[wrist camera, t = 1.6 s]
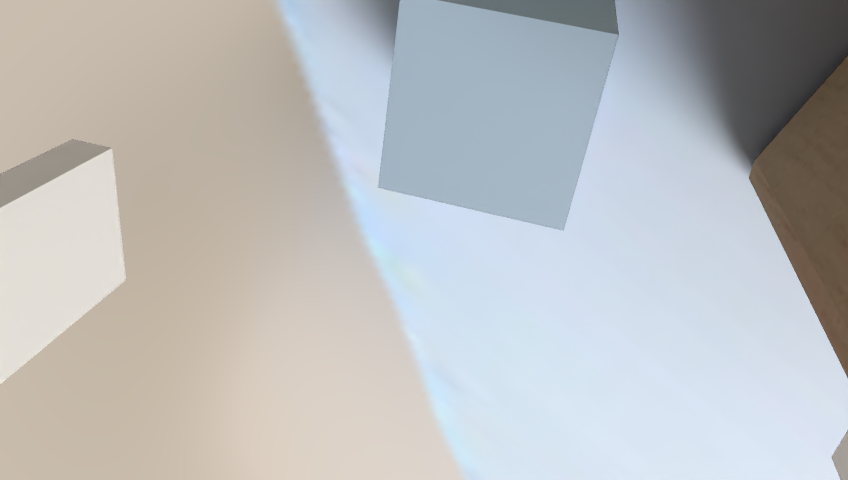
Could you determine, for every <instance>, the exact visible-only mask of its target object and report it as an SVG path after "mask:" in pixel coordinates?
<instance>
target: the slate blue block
mask: <svg viewBox="0 0 848 480" xmlns="http://www.w3.org/2000/svg"><path fill="white" fill-rule="evenodd" d="M618 35H619V33H618V25H617V16H616V7H615V0H400V2H399V11H398V19H397V28H396V37H395V45H394V54H393V63H392V71H391V80H390V89H389V97H388V106H387V115H386V123H385V132H384V141H383V149H382V158H381V167H380V175H379V184H378V188H382V189H386V190H390V191H395V192H399V193H403V194H408V195H412V196H416V197H421V198H425V199H429V200H434V201H438V202H442V203H446V204H451V205H455V206H459V207H464V208H468V209H472V210H477V211H481V212H485V213H490V214H494V215H498V216H503V217H507V218H511V219H516V220H520V221H524V222H529V223H533V224H537V225H542V226H546V227H550V228H555V229H559V230H563V231H564V227H565V224H566V220H567V217H568V213H569V210H570V206H571V202H572V199H573V195H574V192H575V188H576V185H577V181H578V178H579V174H580V170H581V167H582V163H583V160H584V156H585V153H586V149H587V146H588V142H589V138H590V135H591V131H592V128H593V124H594V121H595V117H596V114H597V110H598V106H599V103H600V99H601V96H602V92H603V89H604V85H605V82H606V78H607V74H608V71H609V67H610V64H611V60H612V57H613V53H614V50H615V46H616V42H617V39H618Z"/></svg>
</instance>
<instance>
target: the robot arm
mask: <svg viewBox="0 0 848 480" xmlns="http://www.w3.org/2000/svg"><path fill="white" fill-rule="evenodd" d="M125 280H126V277H125V268H124V258H123V248H122V238H121V230H120V219H119V210H118V200H117V191H116V181H115V172H114V162H113V153H112V148H110V147H105V146H101V145H96V144H92V143H87V142H83V141H78V140H74V139H72V140H70V141H68V142H66V143H64V144H62V145H60V146H57V147H55V148H53V149H51V150H49V151H47V152H45V153H43V154H41V155H39V156H37V157H35V158H32V159H30V160H28V161H26V162H24V163H22V164H20V165H18V166H16V167H14V168H11V169H10V170H7V171H5V172H3V173H1V174H0V384H1V383H2V382H4V381H5V380H6V379H7V378H8V377H10V376H11V375H12V374H13V373H14V372H16V371H17V370H18V369H19V368H20V367H22V366H23V365H24V364H25V363H26V362H28V361H29V360H30V359H31V358H32V357H34V356H35V355H36V354H37V353H38V352H39V351H41V350H42V349H43V348H44V347H46V346H47V345H48V344H49V343H50V342H51V341H53V340H54V339H55V338H56V337H58V336H59V335H60V334H61V333H62V332H64V331H65V330H66V329H67V328H68V327H70V326H71V325H72V324H73V323H74V322H76V321H77V320H78V319H79V318H80V317H81V316H83V315H84V314H85V313H86V312H88V311H89V310H90V309H91V308H92V307H94V306H95V305H96V304H97V303H98V302H100V301H101V300H102V299H103V298H104V297H105V296H107V295H108V294H109V293H110V292H112V291H113V290H114V289H115V288H116V287H118V286H119V285H120V284H121V283H122V282H124V281H125ZM831 458H832V460H833V462H834V465H835V467H836V470H837V472H838V474H839V477H840V479H841V480H848V431H847V432H846V434H845V436H844V437H843V439H842V441H841V442H840V444H839V446H838V447H837V449H836V450H835V452H834V454H833V455H832V457H831Z"/></svg>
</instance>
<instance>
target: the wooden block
mask: <svg viewBox="0 0 848 480" xmlns="http://www.w3.org/2000/svg"><path fill="white" fill-rule="evenodd" d="M749 179H750V181H751V183H752V185H753V187H754V189H755V191H756V193H757V195H758V197H759V199H760V201H761V203H762V205H763V207H764V209H765V211H766V214H767V216H768V218H769V220H770V222H771V224H772V226H773V228H774V230H775V232H776V234H777V236H778V238H779V240H780V242H781V244H782V246H783V248H784V250H785V252H786V254H787V256H788V258H789V260H790V262H791V264H792V266H793V268H794V270H795V272H796V274H797V276H798V278H799V280H800V282H801V284H802V286H803V288H804V290H805V292H806V294H807V296H808V298H809V300H810V303H811V305H812V307H813V309H814V311H815V313H816V315H817V317H818V319H819V321H820V323H821V325H822V327H823V329H824V331H825V333H826V335H827V337H828V339H829V341H830V343H831V345H832V347H833V349H834V351H835V353H836V355H837V357H838V359H839V361H840V363H841V365H842V367H843V369H844V371H845V373H846V375H847V377H848V56H847V57H846V58H845V59H844V60H843V61H842V62H841V64H840V65H839V66H838V67H837V68H836V69H835V70H834V72H833V73H832V74H831V75H830V76H829V77H828V78H827V79H826V81H825V82H824V83H823V84H822V85H821V86H820V87H819V88H818V90H817V91H816V92H815V93H814V94H813V95H812V96H811V97H810V99H809V100H808V101H807V102H806V103H805V104H804V105H803V106H802V108H801V109H800V110H799V111H798V112H797V113H796V114H795V115H794V117H793V118H792V119H791V120H790V121H789V122H788V123H787V124H786V126H785V127H784V128H783V129H782V130H781V131H780V132H779V133H778V135H777V136H776V137H775V138H774V139H773V140H772V141H771V142H770V144H769V145H768V146H767V147H766V148H765V149H764V150H763V151H762V153H761V154H760V155H759V156H758V157H757V158H756V159H755V161H754V164H753V167H752V170H751V173H750V175H749Z"/></svg>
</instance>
